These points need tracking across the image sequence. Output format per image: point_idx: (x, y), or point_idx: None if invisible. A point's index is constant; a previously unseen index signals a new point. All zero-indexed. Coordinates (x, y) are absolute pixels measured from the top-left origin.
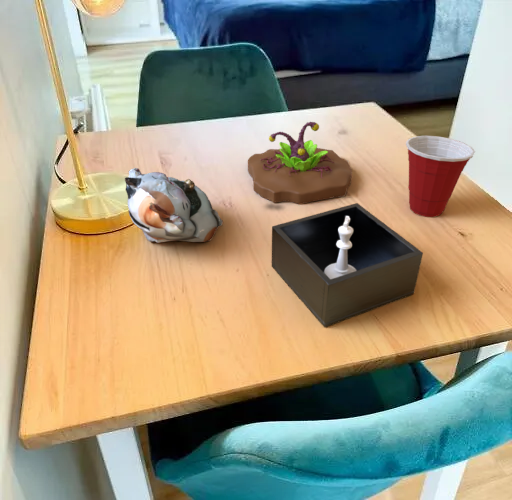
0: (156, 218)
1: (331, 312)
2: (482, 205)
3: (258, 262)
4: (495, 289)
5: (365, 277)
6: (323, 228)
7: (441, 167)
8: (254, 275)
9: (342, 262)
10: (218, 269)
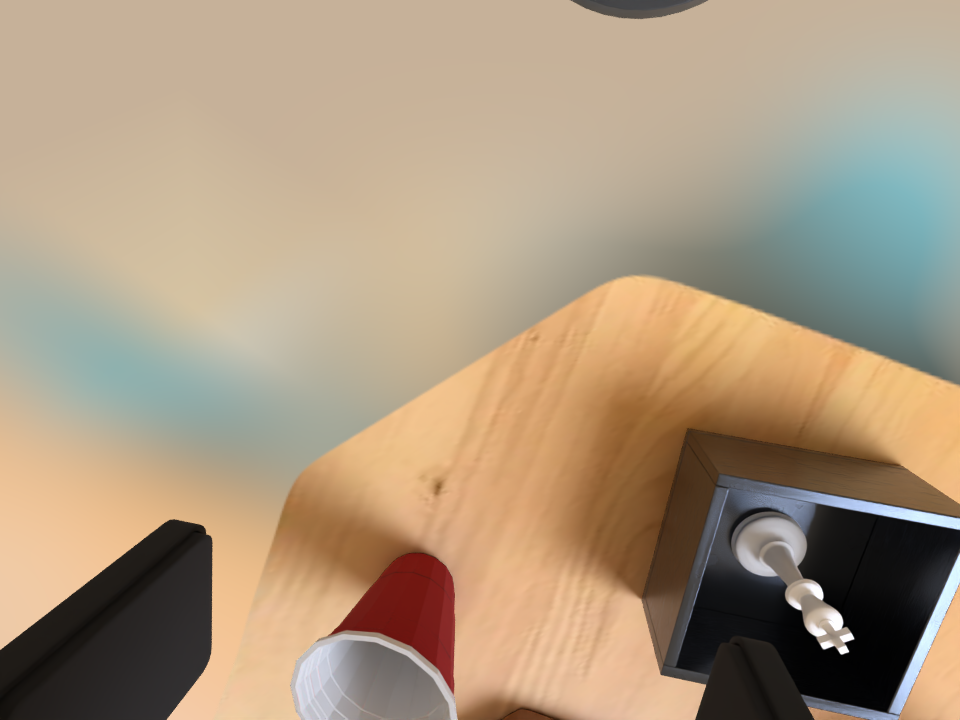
0: None
1: (912, 479)
2: (309, 521)
3: None
4: (544, 344)
5: (873, 496)
6: None
7: (430, 649)
8: None
9: (793, 562)
10: (921, 690)
